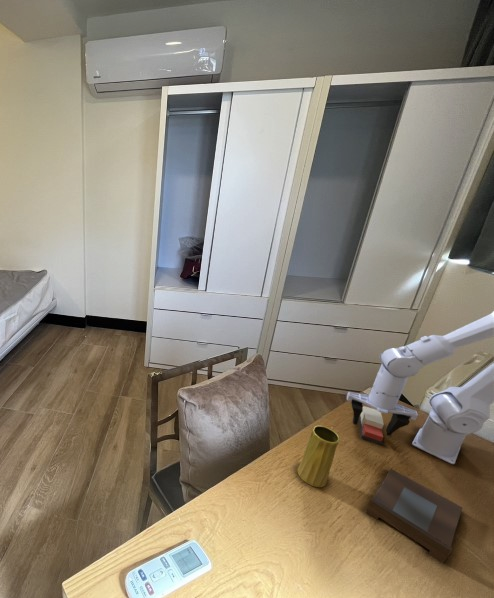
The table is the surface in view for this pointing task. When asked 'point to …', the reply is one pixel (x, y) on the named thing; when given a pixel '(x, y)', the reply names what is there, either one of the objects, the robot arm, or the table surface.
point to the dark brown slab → (417, 513)
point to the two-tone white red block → (371, 425)
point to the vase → (318, 456)
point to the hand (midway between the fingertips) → (370, 427)
